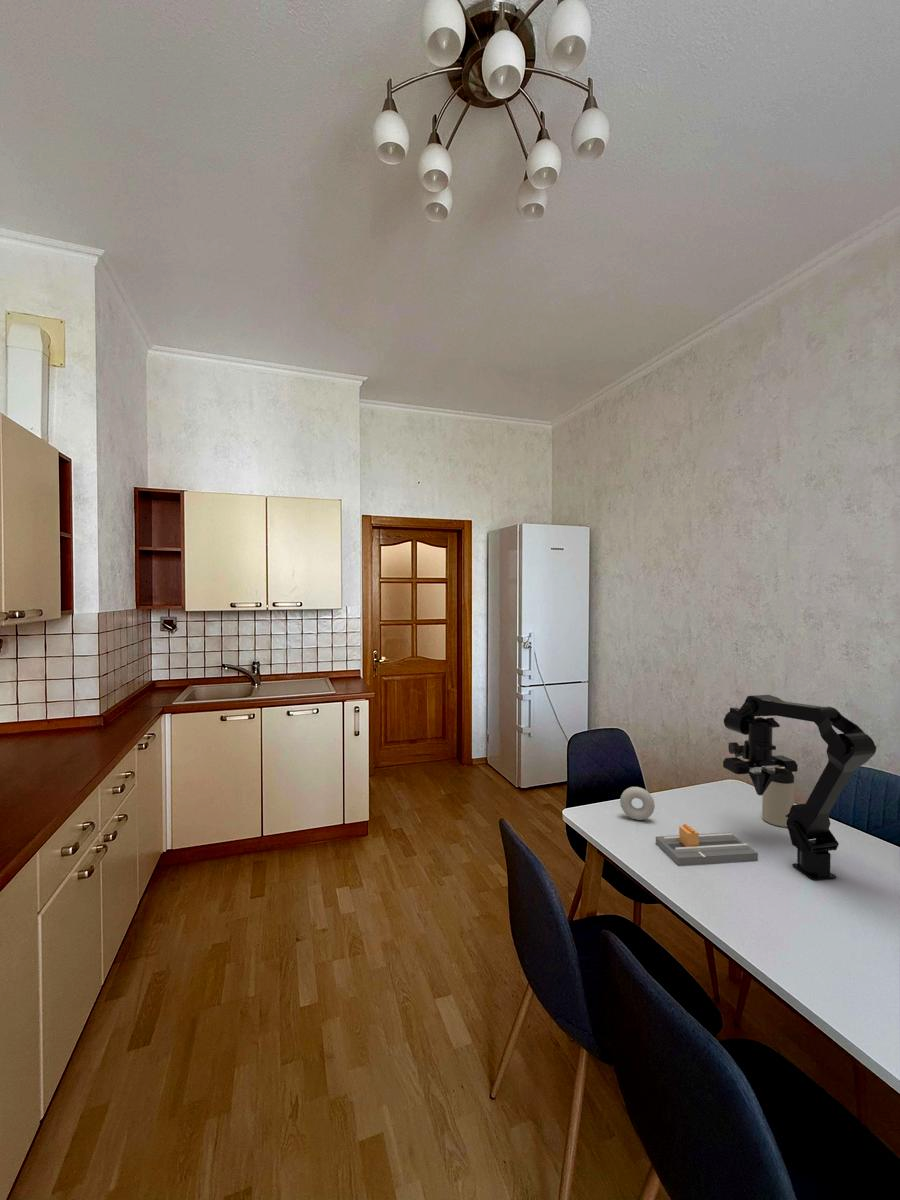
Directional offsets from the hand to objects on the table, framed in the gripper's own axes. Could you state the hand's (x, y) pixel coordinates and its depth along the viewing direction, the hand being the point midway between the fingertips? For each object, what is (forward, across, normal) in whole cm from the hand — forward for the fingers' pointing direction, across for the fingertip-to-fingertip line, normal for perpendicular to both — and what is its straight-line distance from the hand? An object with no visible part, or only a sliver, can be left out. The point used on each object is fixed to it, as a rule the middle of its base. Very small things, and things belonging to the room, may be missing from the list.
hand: (759, 794), depth 138 cm
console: (+13, +19, +4) cm, 23 cm away
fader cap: (+11, +24, +4) cm, 26 cm away
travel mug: (+13, -14, -10) cm, 22 cm away
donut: (+13, +28, -16) cm, 35 cm away
